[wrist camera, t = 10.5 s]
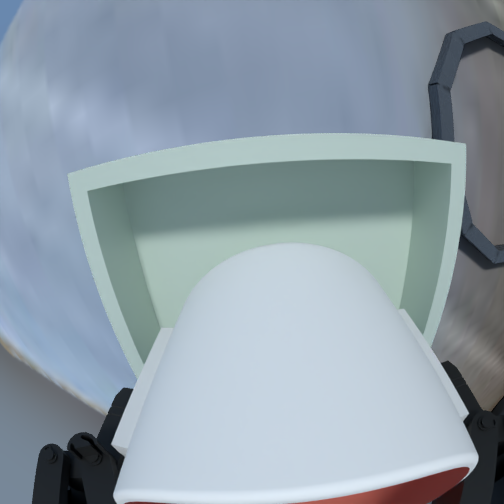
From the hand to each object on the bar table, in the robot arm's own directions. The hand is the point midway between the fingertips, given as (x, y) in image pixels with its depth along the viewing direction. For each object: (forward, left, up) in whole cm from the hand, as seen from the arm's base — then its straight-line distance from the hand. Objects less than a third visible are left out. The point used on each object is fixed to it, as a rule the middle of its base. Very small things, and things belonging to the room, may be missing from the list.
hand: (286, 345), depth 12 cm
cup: (0, 0, -2) cm, 2 cm away
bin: (0, 0, -5) cm, 5 cm away
